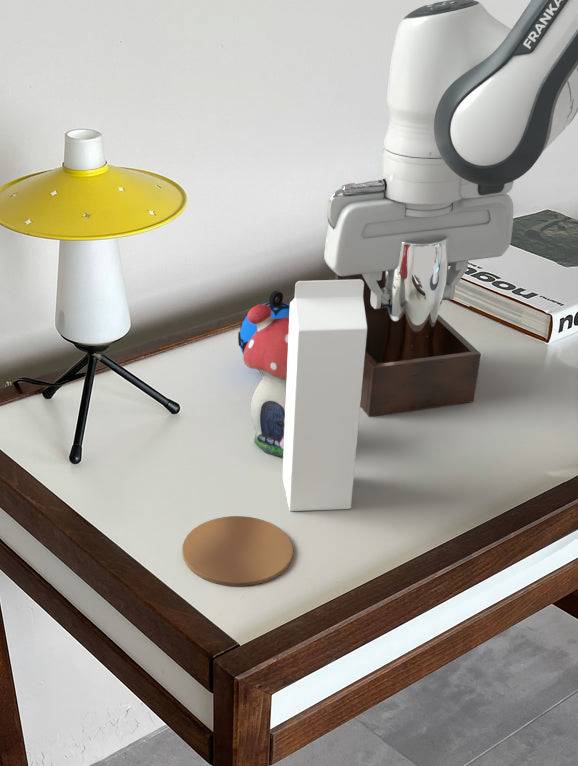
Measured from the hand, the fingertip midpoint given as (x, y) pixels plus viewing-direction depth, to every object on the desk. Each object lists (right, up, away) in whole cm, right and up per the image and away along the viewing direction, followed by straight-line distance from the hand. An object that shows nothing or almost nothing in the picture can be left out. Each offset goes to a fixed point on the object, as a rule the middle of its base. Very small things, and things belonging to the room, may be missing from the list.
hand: (412, 302), depth 112 cm
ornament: (-15, -6, +9) cm, 18 cm away
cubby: (0, -8, +6) cm, 10 cm away
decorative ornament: (-15, -16, -4) cm, 22 cm away
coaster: (-20, -27, -20) cm, 39 cm away
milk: (-12, -21, -12) cm, 28 cm away
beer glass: (0, -6, +4) cm, 7 cm away
